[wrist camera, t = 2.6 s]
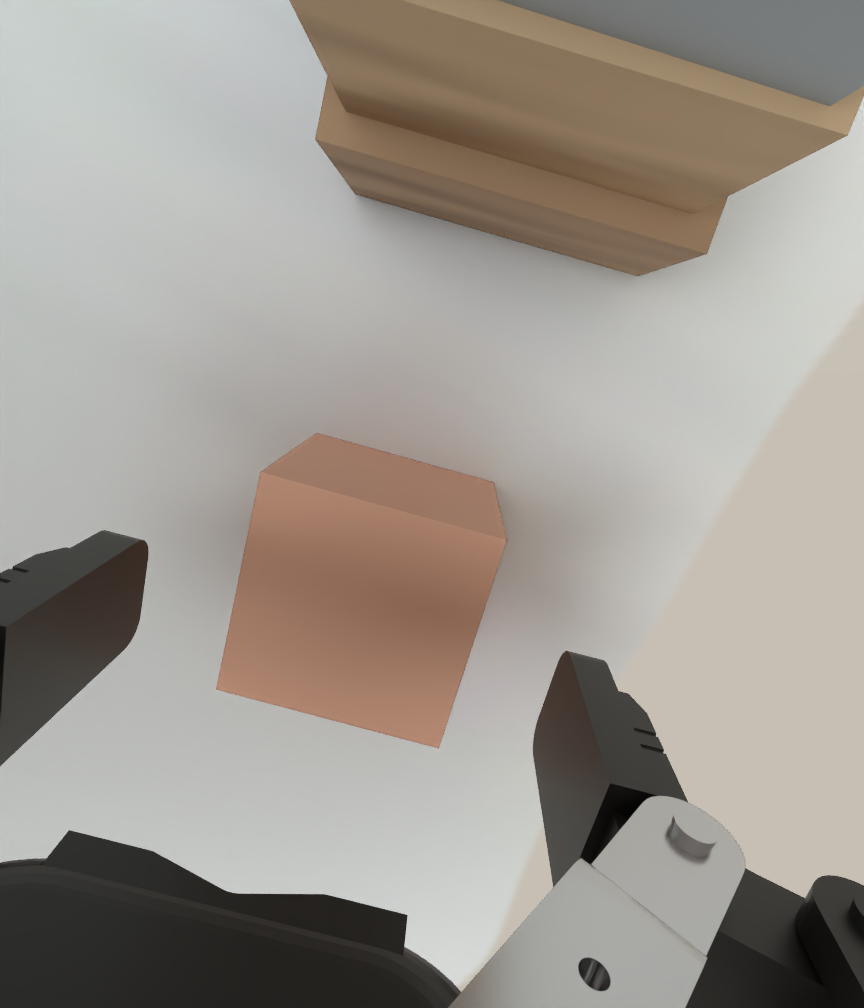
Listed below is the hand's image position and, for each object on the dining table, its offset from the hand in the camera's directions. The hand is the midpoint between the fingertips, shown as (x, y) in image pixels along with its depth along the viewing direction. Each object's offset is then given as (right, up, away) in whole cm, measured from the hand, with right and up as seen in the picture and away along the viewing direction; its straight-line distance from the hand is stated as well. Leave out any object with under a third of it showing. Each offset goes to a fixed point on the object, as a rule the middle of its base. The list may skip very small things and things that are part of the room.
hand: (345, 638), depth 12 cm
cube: (0, +1, +8) cm, 8 cm away
